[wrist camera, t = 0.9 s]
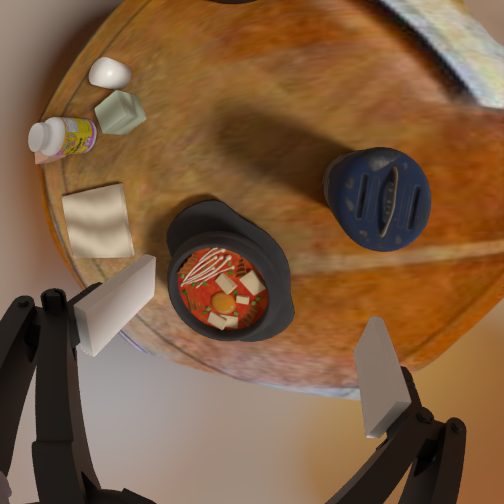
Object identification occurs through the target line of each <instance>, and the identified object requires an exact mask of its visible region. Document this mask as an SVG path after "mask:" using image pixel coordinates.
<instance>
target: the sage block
mask: <svg viewBox="0 0 504 504" xmlns="http://www.w3.org/2000/svg"><path fill="white" fill-rule="evenodd" d="M95 112H96V115H97V118H98V121H99V124H100V126H101V129H102V132H103V134H119V135H125V134H127V133H128V132H129V131H131V130H132V129H133V128H135V127H136V126H138V125H139V124H140V123H142V122H143V121H145V120H146V119H147V118H146V115H145V113H144V111H143V108H142V106H141V104H140V101H139V99H138V97H137V96H136V95H133V94H129V93H126V92H122V91H118V90H116V91H115V92H113V93H112V94H111V95H110V96H109V97H107V98H106V99H105V100H104V101H103V102H102V103H100V104H99V105H98V106H97V107H96V108H95Z"/></svg>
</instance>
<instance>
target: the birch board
mask: <svg viewBox="0 0 504 504" xmlns="http://www.w3.org/2000/svg"><path fill="white" fill-rule="evenodd" d="M62 201H63V207H64V213H65V219H66V224H67V229H68V234H69V239H70V243H71V248H72V252H73V256H74V258H113V257H132V256H134V255H135V254H134V249H133V244H132V239H131V233H130V228H129V222H128V216H127V210H126V204H125V197H124V189H123V183H121V184H116V185H111V186H106V187H102V188H97V189H93V190H88V191H84V192H80V193H76V194H72V195H68V196H64V197H62Z"/></svg>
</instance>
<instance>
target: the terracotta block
mask: <svg viewBox="0 0 504 504" xmlns="http://www.w3.org/2000/svg"><path fill="white" fill-rule="evenodd" d="M63 157H66V155H57V156H46V155H44V154H43V153H42V152H41V151H39V152H35V163H36V164H41V163H49V162H54V161H56V160H58V159H61V158H63Z"/></svg>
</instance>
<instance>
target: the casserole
mask: <svg viewBox="0 0 504 504" xmlns="http://www.w3.org/2000/svg"><path fill="white" fill-rule="evenodd" d="M167 244H168V247H169V251H170V254H171V257H172V259H171V261H170V264H169V269H168V292H169V296H170V300H171V303H172V305H173V307H174V309H175V311H176V312H177V314H178V315H179V317H180V318H181V319H182V320H183V321H184V322H185V323H186V324H187V325H188V326H189V327H190V328H192V329H193V330H194V331H196V332H198V333H199V334H201V335H203V336H206V337H208V338H211V339H215V340H219V341H237V340H240V341H246V342H255V341H262V340H265V339H269V338H272V337H274V336H275V335H277V334H279V333H281V332H282V331H283V330H284V329H286V328H287V327H288V326H289V324H290V323H291V322H292V321H293V317H294V314H295V312H294V306H293V302H292V298H291V293H290V269H289V265H288V261H287V259H286V257H285V255H284V253H283V250H282V249H281V247H280V246H279V245H278V243H277V242H276V241H275V240H274V239H273V238H272V237H271V236H270V235H269V234H268V233H267V232H266V231H264V230H263V229H261V228H259V227H257V226H256V225H254V224H252V223H250V222H249V221H247V220H245V219H243V218H242V217H241V216H240V215H238V214H237V213H236V212H235V211H234V210H232V209H231V208H230V207H229V206H228V205H226V204H225V203H224V202H221V201H217V200H204V201H201V202H198V203H195V204H193V205H191V206H189V207H187V208H186V209H184V210H183V211H182V212H181V213H180V214H179V215H177V216H176V218H175V219H174V220H173V222H172V223H171V225H170V227H169V229H168V232H167Z"/></svg>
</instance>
